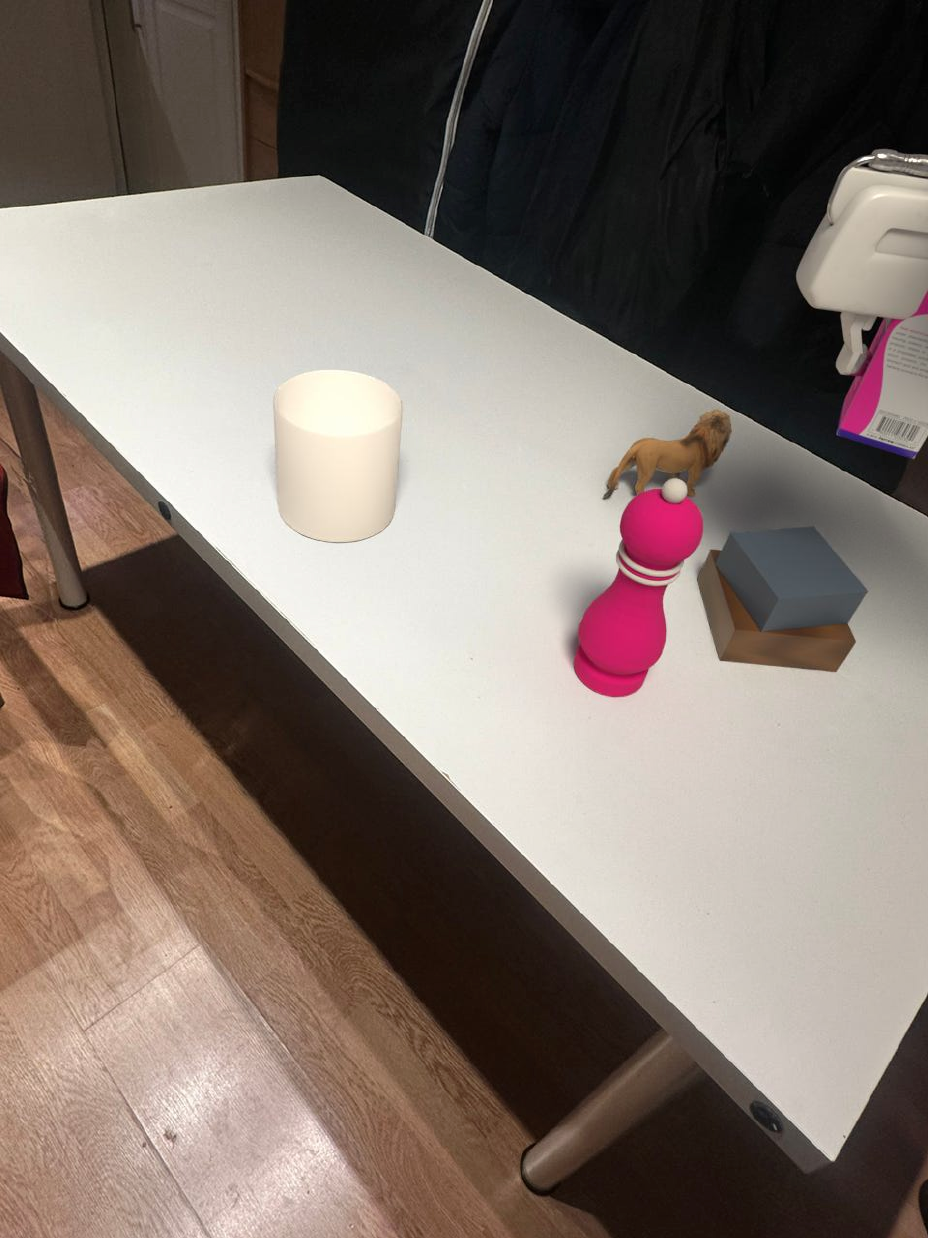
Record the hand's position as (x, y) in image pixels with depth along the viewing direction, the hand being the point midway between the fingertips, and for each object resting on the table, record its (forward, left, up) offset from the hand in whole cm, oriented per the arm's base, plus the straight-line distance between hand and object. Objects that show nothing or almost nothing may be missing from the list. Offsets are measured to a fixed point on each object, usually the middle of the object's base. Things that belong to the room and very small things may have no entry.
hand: (903, 379), depth 59 cm
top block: (0, -2, -22) cm, 23 cm away
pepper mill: (+16, +6, -27) cm, 32 cm away
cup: (+42, -13, -27) cm, 51 cm away
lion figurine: (+7, -23, -27) cm, 36 cm away
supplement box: (0, 0, -4) cm, 4 cm away
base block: (0, -2, -26) cm, 27 cm away
